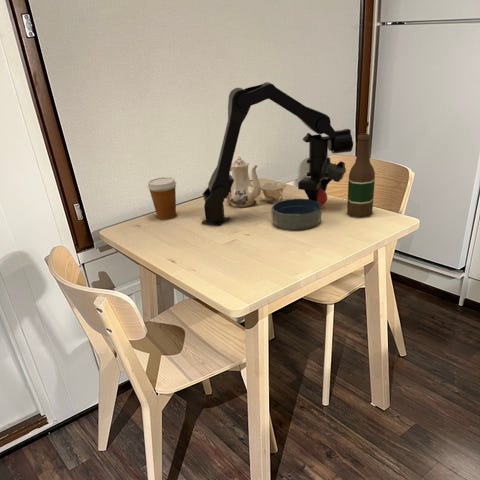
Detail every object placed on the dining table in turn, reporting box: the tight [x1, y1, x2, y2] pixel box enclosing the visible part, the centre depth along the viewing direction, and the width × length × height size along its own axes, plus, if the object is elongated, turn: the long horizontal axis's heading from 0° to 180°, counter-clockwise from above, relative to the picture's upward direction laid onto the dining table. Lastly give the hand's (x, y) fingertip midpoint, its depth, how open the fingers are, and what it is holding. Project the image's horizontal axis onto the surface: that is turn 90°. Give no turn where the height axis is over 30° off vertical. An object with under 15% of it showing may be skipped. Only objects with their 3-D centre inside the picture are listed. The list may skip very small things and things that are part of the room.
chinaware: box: [226, 155, 286, 208], centre depth 170 cm, size 28×17×17 cm, turn 58°
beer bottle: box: [346, 132, 376, 218], centre depth 148 cm, size 8×8×24 cm
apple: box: [317, 189, 328, 209], centre depth 160 cm, size 6×6×7 cm
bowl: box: [270, 198, 322, 231], centre depth 151 cm, size 15×15×5 cm
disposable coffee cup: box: [147, 176, 177, 220], centre depth 163 cm, size 10×10×12 cm
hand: (317, 203), depth 161 cm, fingers closed on apple, 6 cm apart
